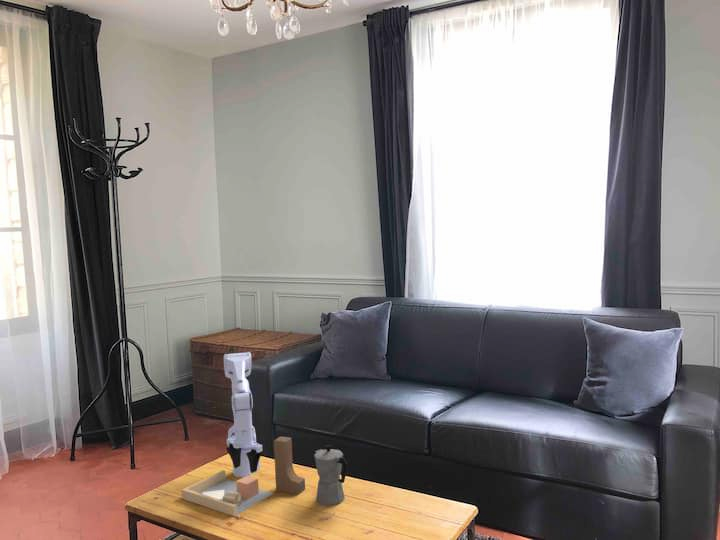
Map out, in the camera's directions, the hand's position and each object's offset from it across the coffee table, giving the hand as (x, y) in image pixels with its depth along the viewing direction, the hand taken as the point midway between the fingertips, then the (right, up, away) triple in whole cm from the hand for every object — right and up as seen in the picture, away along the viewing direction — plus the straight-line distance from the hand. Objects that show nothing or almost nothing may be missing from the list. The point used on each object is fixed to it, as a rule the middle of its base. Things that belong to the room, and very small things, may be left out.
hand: (245, 469), depth 195 cm
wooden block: (+15, -9, +3) cm, 17 cm away
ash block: (-3, -9, -8) cm, 12 cm away
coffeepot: (+29, -9, -4) cm, 31 cm away
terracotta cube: (+1, -9, +1) cm, 9 cm away
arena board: (-6, -10, 0) cm, 11 cm away
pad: (-11, -9, +1) cm, 14 cm away
